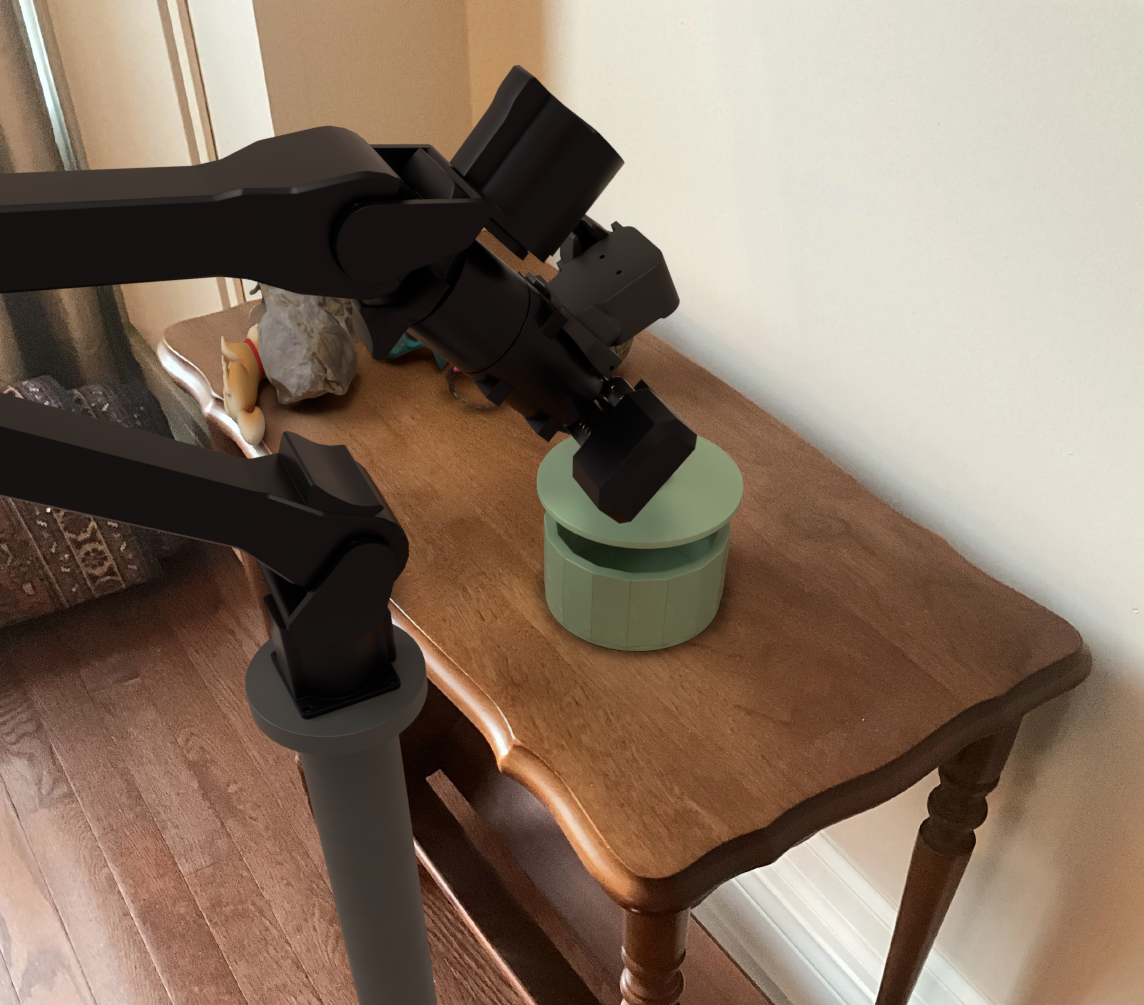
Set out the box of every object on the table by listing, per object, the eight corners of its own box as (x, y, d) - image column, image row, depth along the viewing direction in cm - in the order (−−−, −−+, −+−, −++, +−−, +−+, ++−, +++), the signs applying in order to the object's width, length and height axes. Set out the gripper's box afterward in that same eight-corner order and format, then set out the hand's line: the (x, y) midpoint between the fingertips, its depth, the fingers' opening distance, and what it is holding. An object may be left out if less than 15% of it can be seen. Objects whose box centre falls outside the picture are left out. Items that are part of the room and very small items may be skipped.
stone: (384, 405, 99) (348, 372, 89) (304, 431, 100) (260, 401, 90) (347, 275, 98) (307, 228, 89) (267, 303, 99) (219, 258, 89)
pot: (597, 673, 74) (600, 601, 70) (515, 568, 82) (513, 497, 77) (754, 617, 78) (766, 546, 74) (662, 521, 85) (668, 451, 81)
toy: (219, 339, 101) (278, 342, 102) (226, 460, 91) (292, 462, 92) (218, 303, 99) (279, 307, 100) (225, 423, 88) (293, 426, 90)
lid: (598, 581, 68) (601, 493, 64) (502, 468, 76) (499, 382, 71) (782, 520, 72) (797, 434, 68) (673, 419, 80) (680, 335, 75)
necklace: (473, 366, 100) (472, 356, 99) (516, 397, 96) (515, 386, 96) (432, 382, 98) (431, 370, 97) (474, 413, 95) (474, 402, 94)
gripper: (677, 272, 53) (837, 432, 64) (517, 130, 64) (678, 288, 76) (522, 460, 57) (699, 580, 68) (396, 295, 68) (567, 421, 79)
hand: (661, 457), depth 73 cm, fingers closed on lid, 2 cm apart
